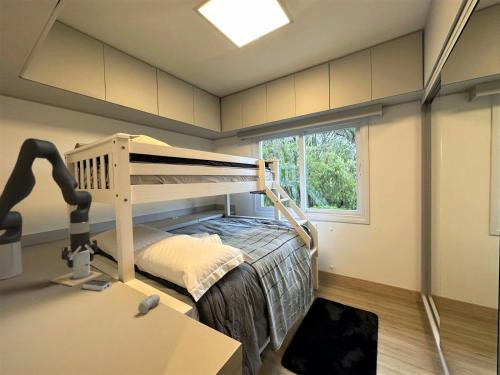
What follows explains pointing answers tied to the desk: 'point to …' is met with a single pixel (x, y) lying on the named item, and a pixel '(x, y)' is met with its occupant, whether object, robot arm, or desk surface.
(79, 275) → the skincare box
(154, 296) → the grey rounded cylinder
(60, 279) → the beige flat board
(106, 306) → the desk surface
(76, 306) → the desk surface
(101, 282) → the multiport hub
